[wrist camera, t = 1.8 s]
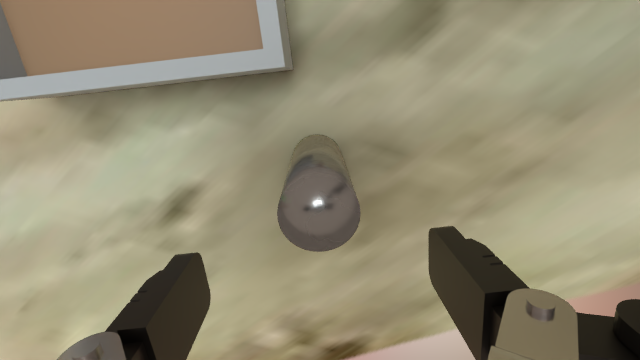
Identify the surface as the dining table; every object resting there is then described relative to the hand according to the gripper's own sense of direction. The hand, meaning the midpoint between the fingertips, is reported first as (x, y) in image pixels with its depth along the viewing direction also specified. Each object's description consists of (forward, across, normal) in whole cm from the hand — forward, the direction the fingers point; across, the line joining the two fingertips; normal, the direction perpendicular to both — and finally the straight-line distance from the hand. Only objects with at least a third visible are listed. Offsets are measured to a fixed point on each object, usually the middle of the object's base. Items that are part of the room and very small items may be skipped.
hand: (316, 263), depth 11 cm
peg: (+15, 0, 0) cm, 15 cm away
